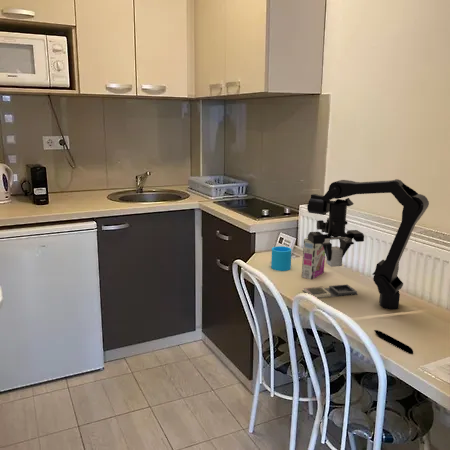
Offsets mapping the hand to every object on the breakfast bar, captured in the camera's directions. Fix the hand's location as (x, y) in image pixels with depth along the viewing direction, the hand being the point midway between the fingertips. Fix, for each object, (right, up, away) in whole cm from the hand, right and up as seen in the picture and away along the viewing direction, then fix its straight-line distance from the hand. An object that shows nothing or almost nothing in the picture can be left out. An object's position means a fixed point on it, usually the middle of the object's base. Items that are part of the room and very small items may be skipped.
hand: (334, 260), depth 163 cm
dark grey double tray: (-1, -13, +3) cm, 13 cm away
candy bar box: (-3, -8, +21) cm, 23 cm away
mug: (-16, -5, +33) cm, 37 cm away
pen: (+9, -22, -31) cm, 39 cm away
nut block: (0, -2, 0) cm, 2 cm away
